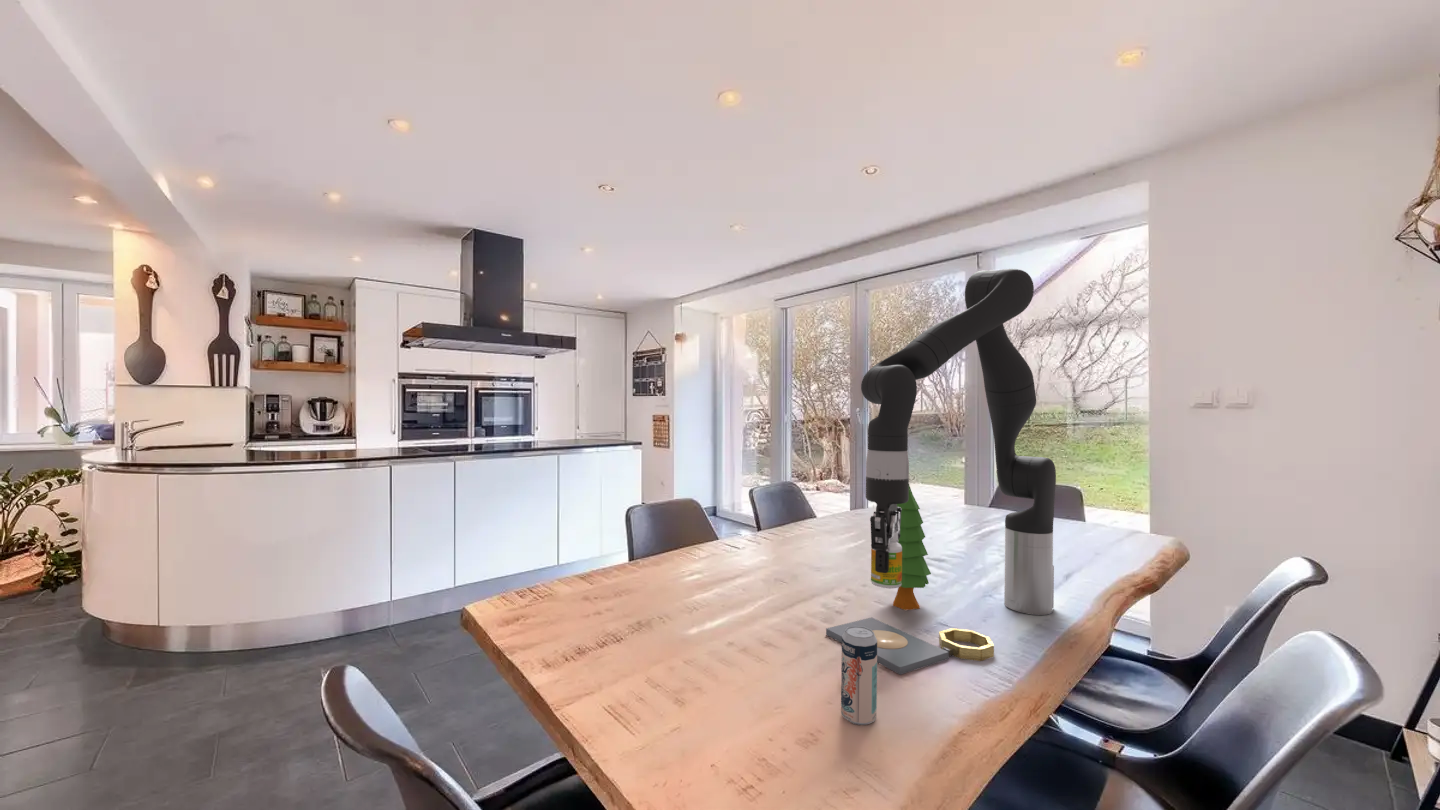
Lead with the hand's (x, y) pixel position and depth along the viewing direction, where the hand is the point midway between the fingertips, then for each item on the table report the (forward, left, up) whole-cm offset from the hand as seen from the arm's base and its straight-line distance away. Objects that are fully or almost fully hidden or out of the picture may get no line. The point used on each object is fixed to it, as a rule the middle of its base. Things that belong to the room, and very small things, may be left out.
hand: (886, 567), depth 100 cm
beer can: (+21, +15, -15) cm, 30 cm away
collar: (-12, +8, -14) cm, 20 cm away
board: (0, 0, -14) cm, 14 cm away
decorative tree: (-21, -13, -14) cm, 29 cm away
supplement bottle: (0, 0, -3) cm, 3 cm away
